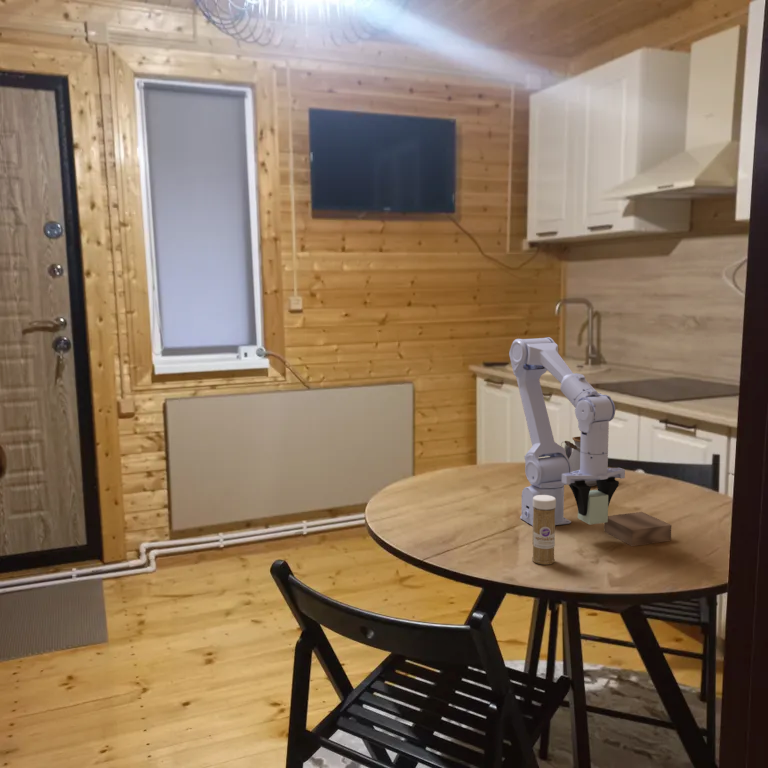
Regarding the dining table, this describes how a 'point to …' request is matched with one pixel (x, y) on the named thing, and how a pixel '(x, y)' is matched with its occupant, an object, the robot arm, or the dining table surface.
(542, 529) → the sprinkles bottle
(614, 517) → the walnut block
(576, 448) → the coffee pot
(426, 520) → the dining table surface
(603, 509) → the sage block
